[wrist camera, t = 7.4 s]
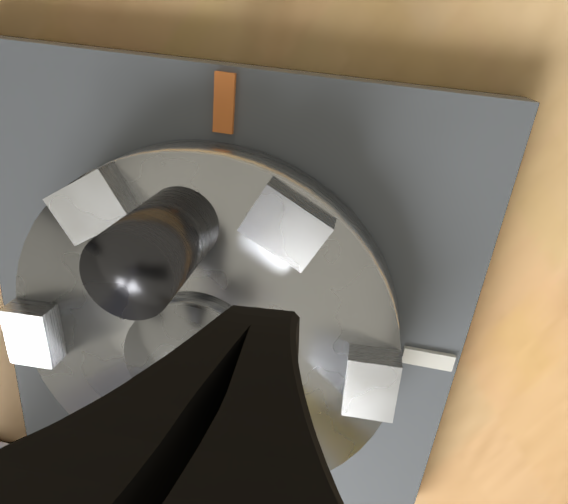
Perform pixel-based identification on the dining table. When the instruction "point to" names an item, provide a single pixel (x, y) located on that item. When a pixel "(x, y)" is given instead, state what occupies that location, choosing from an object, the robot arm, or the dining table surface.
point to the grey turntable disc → (206, 279)
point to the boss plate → (307, 157)
